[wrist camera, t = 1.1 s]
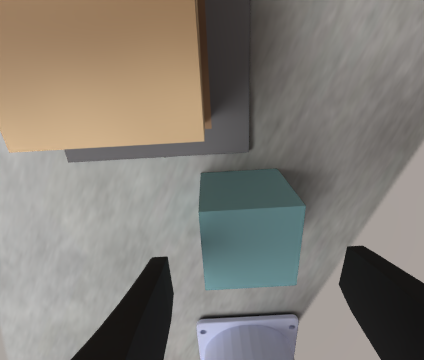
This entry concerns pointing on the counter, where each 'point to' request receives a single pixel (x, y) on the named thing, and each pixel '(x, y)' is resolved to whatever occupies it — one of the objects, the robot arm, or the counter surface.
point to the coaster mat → (219, 92)
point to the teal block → (249, 229)
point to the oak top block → (99, 73)
